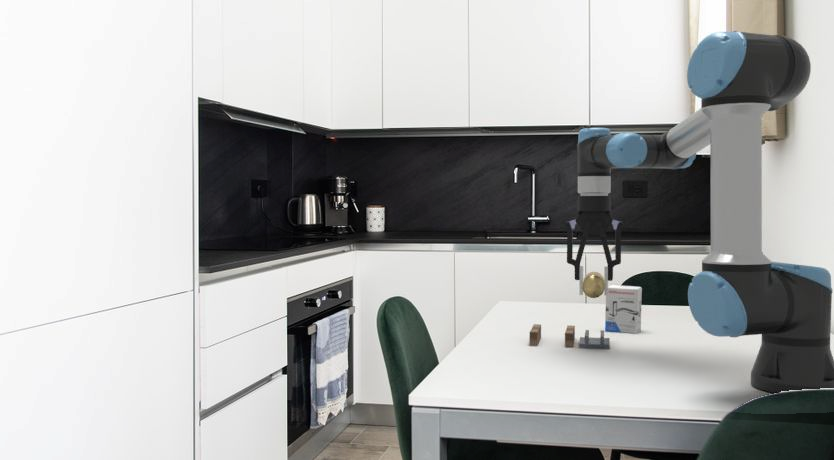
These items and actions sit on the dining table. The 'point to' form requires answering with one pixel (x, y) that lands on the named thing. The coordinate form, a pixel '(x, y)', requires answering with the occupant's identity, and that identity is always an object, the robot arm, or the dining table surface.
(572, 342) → the wooden rail pair
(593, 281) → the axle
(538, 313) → the dining table surface
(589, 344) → the cradle
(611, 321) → the ink box
